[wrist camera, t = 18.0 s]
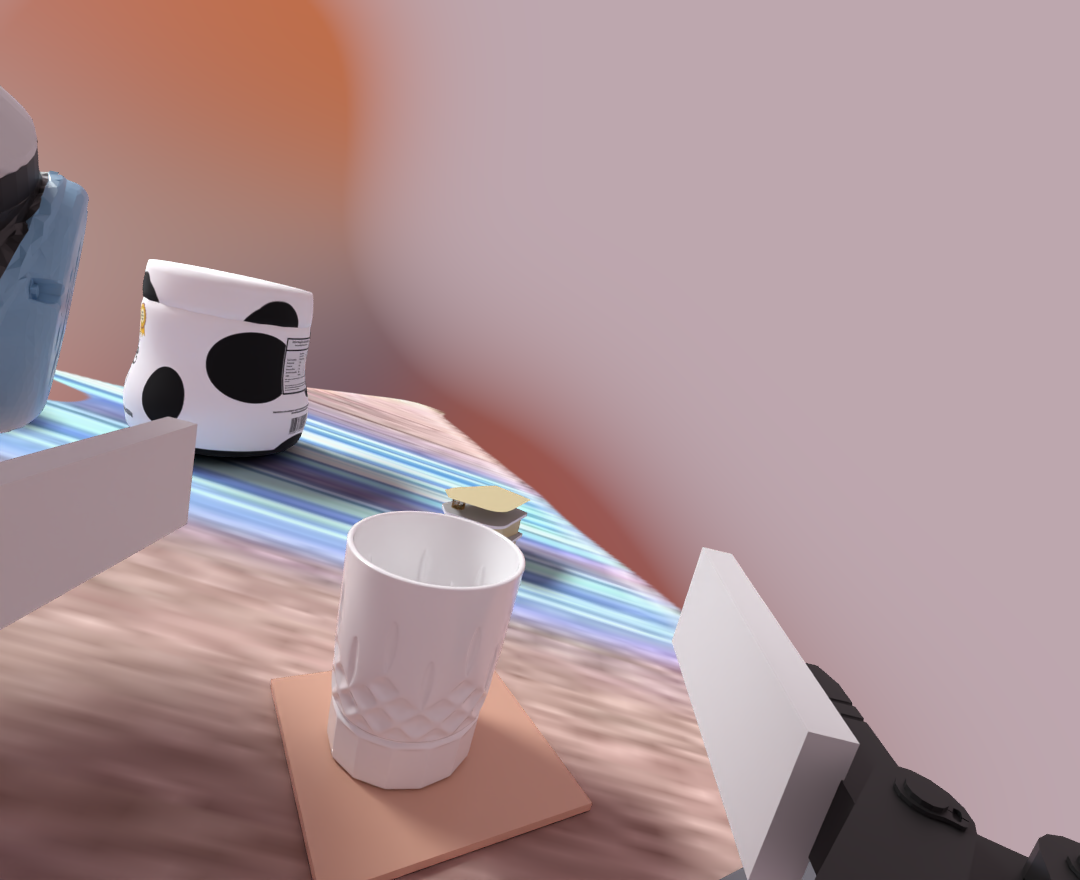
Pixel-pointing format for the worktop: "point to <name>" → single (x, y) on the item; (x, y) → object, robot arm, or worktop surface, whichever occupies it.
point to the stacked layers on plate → (488, 508)
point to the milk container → (221, 358)
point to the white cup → (417, 643)
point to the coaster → (418, 790)
